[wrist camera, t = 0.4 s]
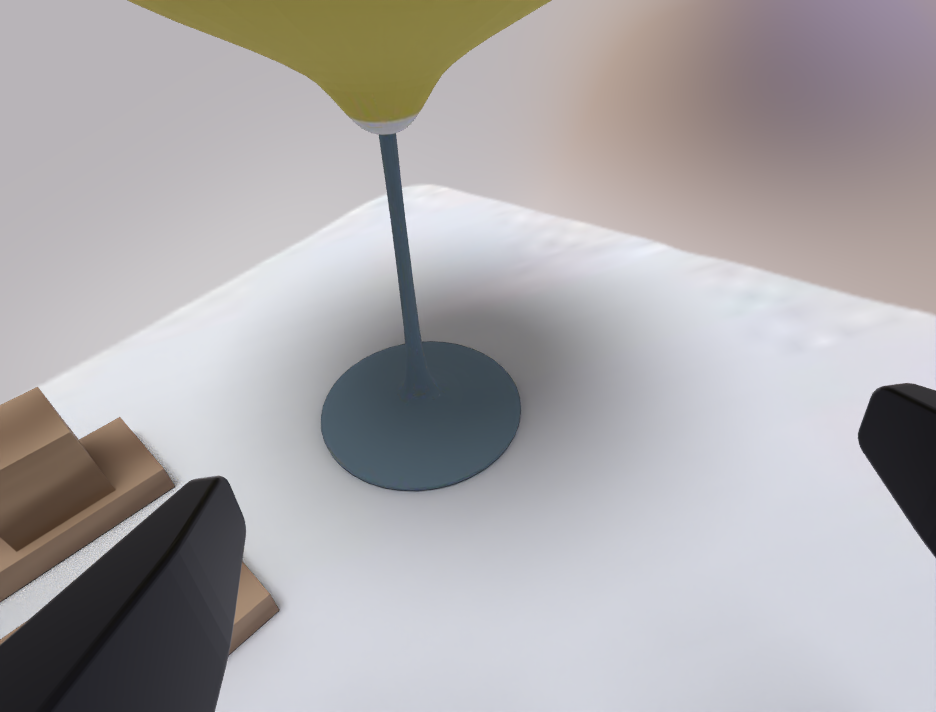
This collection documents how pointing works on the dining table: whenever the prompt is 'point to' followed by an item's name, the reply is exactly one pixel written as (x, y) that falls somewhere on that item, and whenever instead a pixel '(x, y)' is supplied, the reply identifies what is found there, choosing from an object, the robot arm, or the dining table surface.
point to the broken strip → (134, 489)
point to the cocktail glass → (385, 113)
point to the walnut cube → (42, 471)
